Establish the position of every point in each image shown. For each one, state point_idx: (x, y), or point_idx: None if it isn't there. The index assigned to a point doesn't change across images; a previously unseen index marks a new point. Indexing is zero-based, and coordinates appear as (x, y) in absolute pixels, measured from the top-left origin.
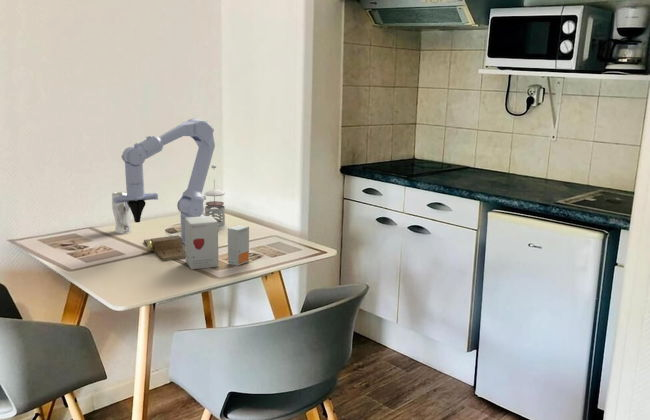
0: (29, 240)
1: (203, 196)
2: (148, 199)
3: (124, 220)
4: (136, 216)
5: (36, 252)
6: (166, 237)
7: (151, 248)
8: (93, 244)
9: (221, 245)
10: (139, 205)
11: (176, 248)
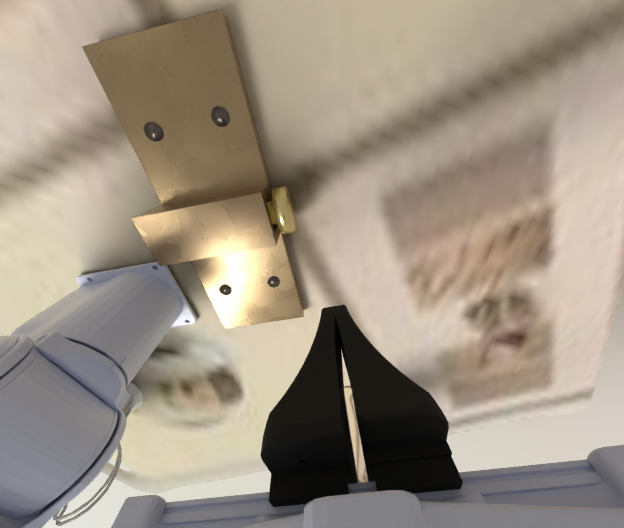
0: (569, 385)
1: (63, 523)
2: (227, 503)
3: (351, 427)
4: (347, 328)
5: (618, 295)
6: (207, 246)
7: (279, 187)
8: (445, 327)
9: (6, 211)
10: (332, 404)
11: (175, 181)
